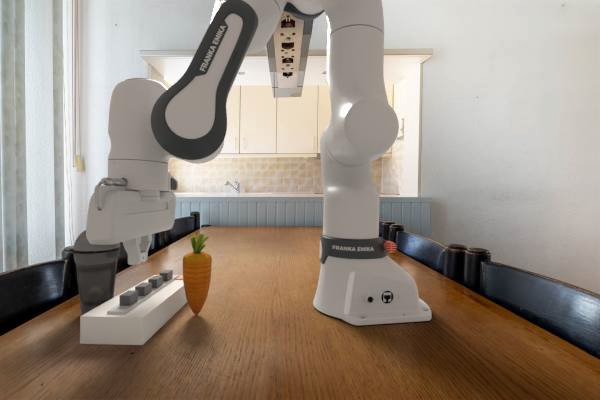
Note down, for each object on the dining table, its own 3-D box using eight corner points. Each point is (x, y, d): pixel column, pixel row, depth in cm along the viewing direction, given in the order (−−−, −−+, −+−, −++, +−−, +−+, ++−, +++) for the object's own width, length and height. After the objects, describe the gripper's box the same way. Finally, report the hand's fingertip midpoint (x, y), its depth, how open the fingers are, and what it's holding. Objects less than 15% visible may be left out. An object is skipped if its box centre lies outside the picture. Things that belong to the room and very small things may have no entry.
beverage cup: (96, 323, 50) (97, 203, 49) (60, 318, 51) (61, 202, 51) (129, 307, 57) (130, 202, 56) (97, 303, 58) (98, 201, 58)
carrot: (182, 311, 56) (184, 230, 55) (210, 308, 57) (212, 230, 57) (180, 322, 51) (181, 234, 51) (211, 319, 52) (212, 233, 52)
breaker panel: (195, 294, 65) (195, 266, 65) (142, 345, 43) (143, 303, 43) (154, 293, 65) (154, 265, 65) (80, 343, 43) (80, 302, 43)
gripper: (120, 176, 39) (119, 281, 40) (182, 182, 60) (180, 251, 60) (72, 175, 39) (71, 280, 40) (150, 182, 60) (149, 251, 60)
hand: (137, 263), depth 50 cm, fingers closed
